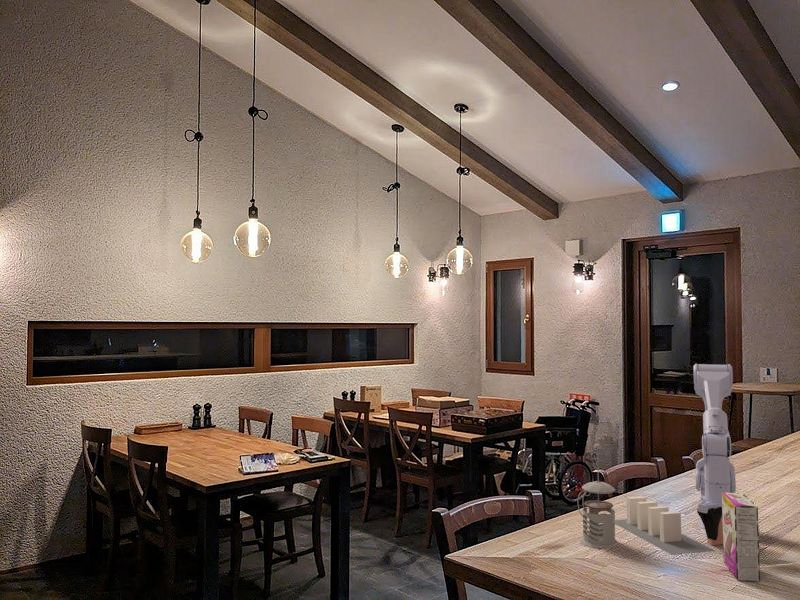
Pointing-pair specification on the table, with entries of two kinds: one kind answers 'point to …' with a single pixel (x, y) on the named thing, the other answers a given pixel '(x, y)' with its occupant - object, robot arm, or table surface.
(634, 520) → the domino
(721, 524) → the domino
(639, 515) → the domino
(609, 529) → the french press
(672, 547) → the slate mat
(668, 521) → the domino
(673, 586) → the table surface
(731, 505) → the candy bar box
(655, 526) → the domino
